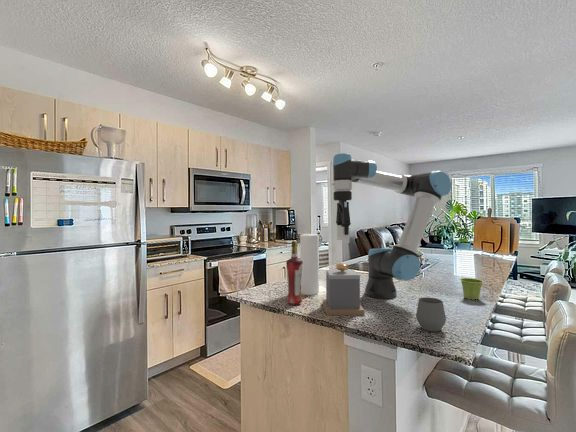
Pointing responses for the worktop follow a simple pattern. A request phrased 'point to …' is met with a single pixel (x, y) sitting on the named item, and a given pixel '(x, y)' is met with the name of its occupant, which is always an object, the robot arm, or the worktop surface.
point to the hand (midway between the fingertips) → (342, 241)
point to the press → (342, 293)
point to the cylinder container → (310, 263)
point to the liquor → (294, 277)
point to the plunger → (342, 267)
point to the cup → (431, 314)
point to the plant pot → (471, 288)
